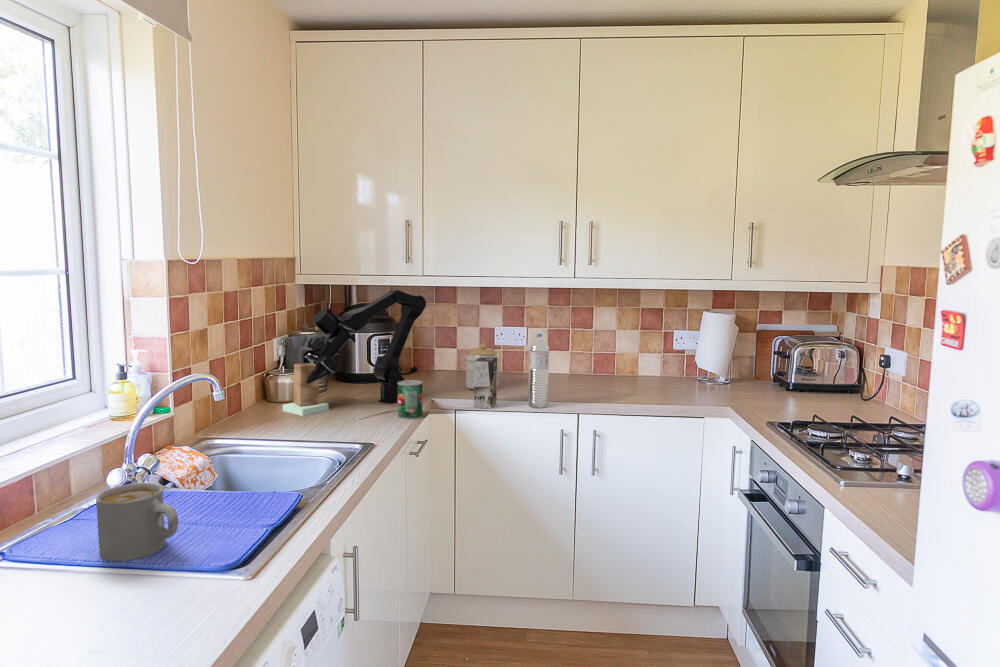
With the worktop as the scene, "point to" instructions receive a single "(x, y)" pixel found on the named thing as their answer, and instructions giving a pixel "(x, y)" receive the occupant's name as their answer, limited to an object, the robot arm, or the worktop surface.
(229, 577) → the worktop surface
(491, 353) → the jar
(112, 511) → the coffee mug
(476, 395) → the coffee box
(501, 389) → the worktop surface
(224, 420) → the worktop surface
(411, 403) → the canned tomato
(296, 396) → the walnut post
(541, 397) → the water bottle
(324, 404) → the sage top slab
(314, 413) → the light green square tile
